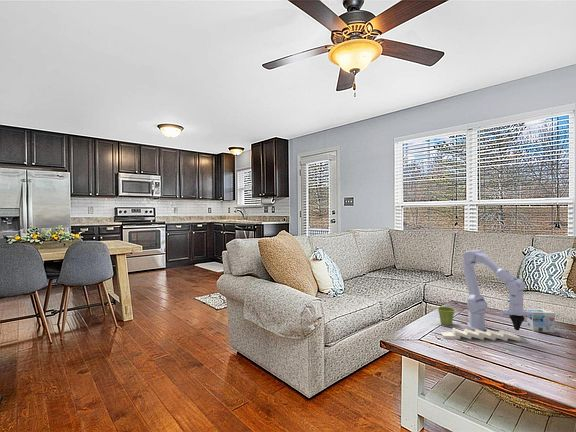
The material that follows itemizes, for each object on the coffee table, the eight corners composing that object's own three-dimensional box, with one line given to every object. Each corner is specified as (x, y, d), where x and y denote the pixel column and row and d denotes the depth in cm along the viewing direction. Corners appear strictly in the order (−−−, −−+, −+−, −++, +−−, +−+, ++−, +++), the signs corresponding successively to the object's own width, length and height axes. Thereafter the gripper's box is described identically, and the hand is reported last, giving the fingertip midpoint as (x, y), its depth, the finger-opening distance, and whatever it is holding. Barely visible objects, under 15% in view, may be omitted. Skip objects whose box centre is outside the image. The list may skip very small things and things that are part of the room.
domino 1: (460, 338, 165) (444, 339, 166) (457, 335, 170) (441, 335, 171) (460, 335, 165) (443, 335, 166) (456, 332, 170) (441, 332, 171)
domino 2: (470, 339, 164) (454, 333, 165) (467, 335, 169) (451, 330, 170) (471, 336, 164) (455, 331, 165) (468, 332, 169) (452, 327, 170)
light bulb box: (532, 331, 173) (532, 311, 172) (526, 327, 179) (526, 308, 179) (555, 332, 170) (555, 312, 170) (548, 328, 177) (548, 309, 176)
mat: (452, 334, 172) (452, 334, 172) (522, 337, 166) (522, 336, 166) (457, 340, 164) (457, 340, 164) (531, 343, 158) (531, 343, 158)
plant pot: (442, 319, 195) (441, 305, 195) (458, 323, 187) (457, 308, 187) (434, 323, 189) (434, 308, 189) (450, 327, 182) (450, 312, 181)
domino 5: (507, 341, 161) (490, 335, 162) (502, 337, 166) (486, 332, 167) (508, 338, 161) (491, 332, 162) (503, 334, 166) (487, 329, 167)
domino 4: (495, 340, 162) (478, 335, 163) (490, 336, 167) (474, 331, 168) (496, 337, 162) (479, 332, 163) (491, 333, 167) (475, 328, 168)
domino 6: (519, 341, 160) (502, 336, 161) (514, 337, 165) (498, 332, 166) (520, 338, 160) (503, 333, 161) (515, 334, 165) (499, 329, 166)
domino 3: (483, 340, 163) (467, 335, 164) (479, 336, 168) (463, 331, 169) (484, 337, 163) (468, 332, 164) (480, 333, 168) (464, 328, 169)
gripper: (504, 305, 159) (504, 332, 160) (537, 306, 157) (537, 333, 157) (497, 301, 166) (498, 326, 167) (528, 301, 164) (529, 327, 164)
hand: (516, 329), depth 162 cm, fingers closed
